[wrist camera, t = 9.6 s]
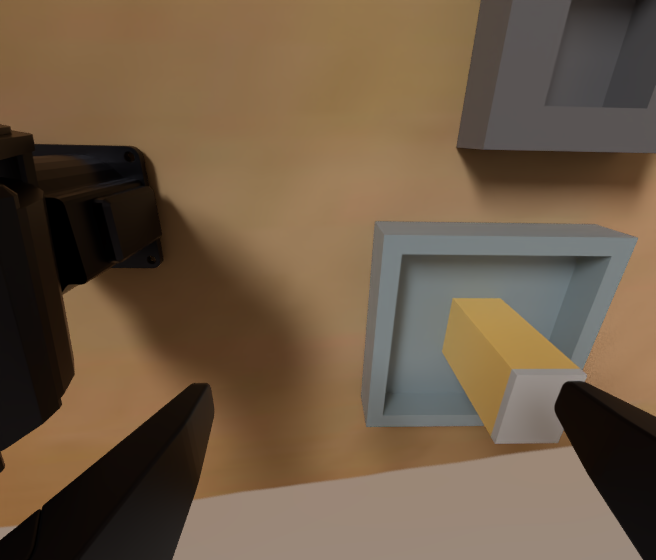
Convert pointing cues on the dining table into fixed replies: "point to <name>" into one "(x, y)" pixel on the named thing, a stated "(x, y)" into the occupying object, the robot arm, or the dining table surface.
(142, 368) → the dining table surface
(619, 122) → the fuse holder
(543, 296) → the parts tray
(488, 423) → the block
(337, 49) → the dining table surface
